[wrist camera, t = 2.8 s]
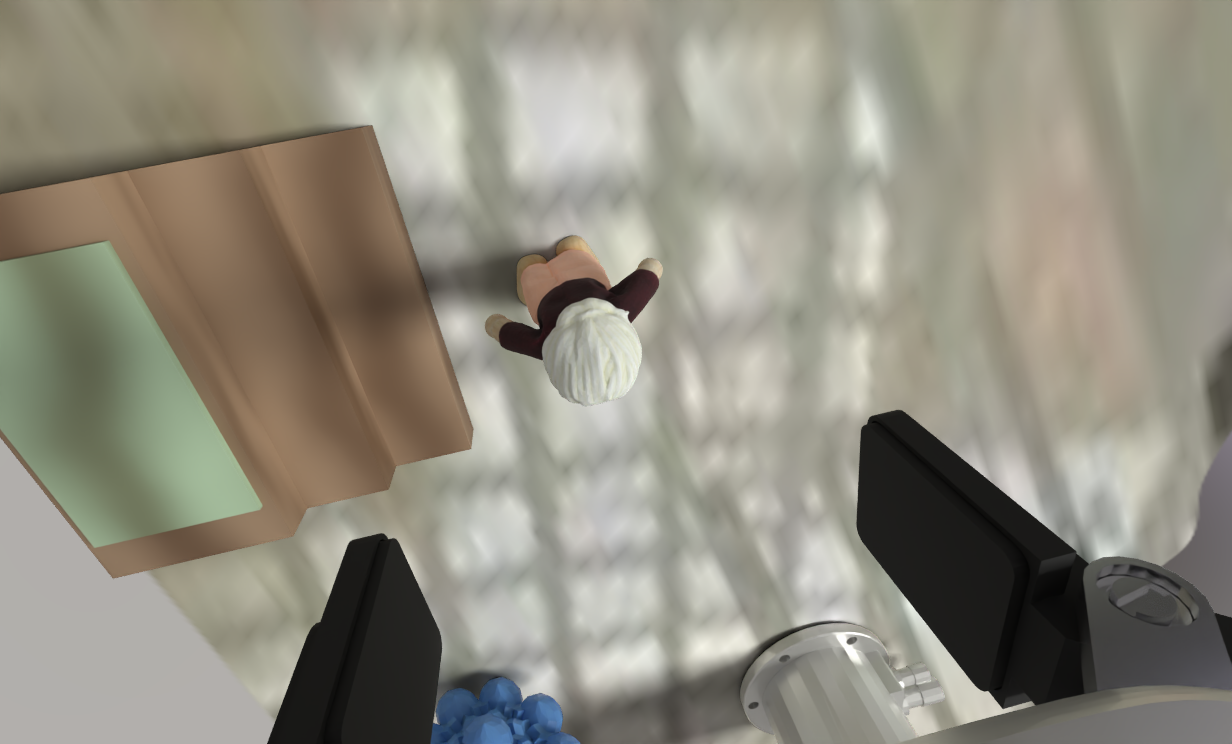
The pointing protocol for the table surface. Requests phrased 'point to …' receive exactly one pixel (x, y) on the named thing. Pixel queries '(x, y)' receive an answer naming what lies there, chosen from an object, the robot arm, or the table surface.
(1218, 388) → the table surface
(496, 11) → the table surface
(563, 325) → the grandmother figurine
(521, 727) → the grapes
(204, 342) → the step riser
